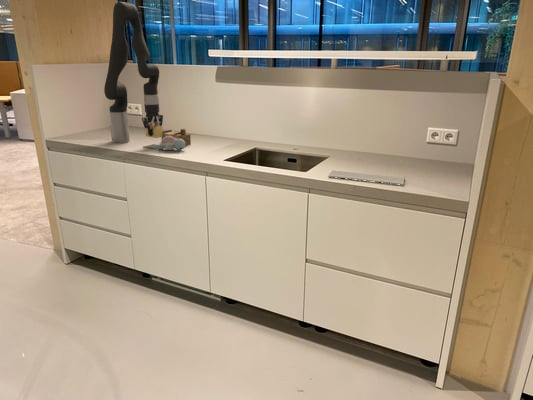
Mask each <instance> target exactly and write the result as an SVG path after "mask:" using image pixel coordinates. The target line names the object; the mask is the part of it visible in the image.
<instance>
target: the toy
mask: <svg viewBox="0 0 533 400" xmlns="http://www.w3.org/2000/svg"><path fill="white" fill-rule="evenodd" d="M160 141H161V142H160V144H157V145H158V146H157V147H156V148H157V151H161V150H163V149H164V150H173V149H175V151H182V150H184V149H185V148H186V144H185V141H184V140H183V139H175V138H174V137H173V136H165V137H164V138H162V137H161V140H160Z"/></svg>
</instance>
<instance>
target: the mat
mask: <svg viewBox="0 0 533 400" xmlns="http://www.w3.org/2000/svg"><path fill="white" fill-rule="evenodd" d="M158 145H159V144H155V143H154V144H149V145H144V146H143V148H144V149H152V150H157V148H156V147H157V146H158ZM157 151H158V150H157Z"/></svg>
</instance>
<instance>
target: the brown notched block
mask: <svg viewBox="0 0 533 400" xmlns="http://www.w3.org/2000/svg"><path fill="white" fill-rule="evenodd" d="M162 132H163V137H161V139H162V138H164V137H165V136H173V137H174V138H175V139H183V140H184V141H185V144H186V146H190V145H191V144H192V141H191V139H192V138H191V133H187V132H186V128H180V131H179V132H178V131H173V130H172V129H167V130H162ZM186 146H185V147H186Z"/></svg>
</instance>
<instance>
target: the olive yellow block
mask: <svg viewBox="0 0 533 400" xmlns="http://www.w3.org/2000/svg"><path fill="white" fill-rule="evenodd" d="M149 127H150V126H149ZM144 130H145V137H146V138H147V137H148V138H155V139H157V138H162V137H163V132H162V131H163V125H162V126H161V125H154V124H153V125H152V136H149V135H148V129H147V128H144Z"/></svg>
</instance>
